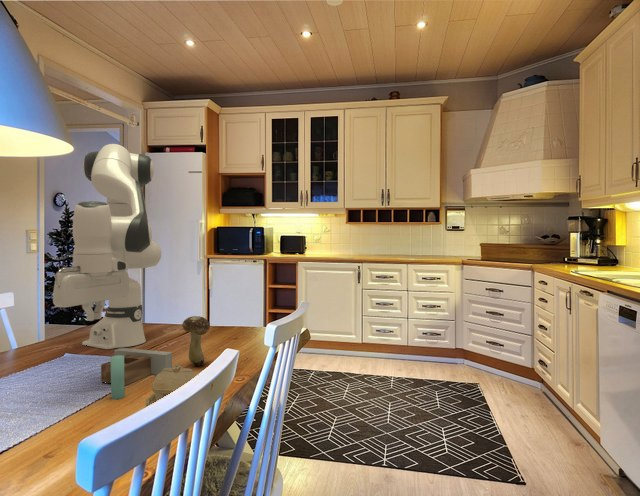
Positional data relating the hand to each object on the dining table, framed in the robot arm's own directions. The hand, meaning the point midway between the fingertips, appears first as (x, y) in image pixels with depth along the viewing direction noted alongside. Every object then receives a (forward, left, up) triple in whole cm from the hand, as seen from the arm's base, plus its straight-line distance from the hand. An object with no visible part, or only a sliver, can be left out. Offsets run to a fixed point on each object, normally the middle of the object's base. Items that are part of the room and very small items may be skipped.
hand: (94, 319), depth 105 cm
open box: (0, +11, -19) cm, 22 cm away
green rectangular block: (+8, -1, -19) cm, 20 cm away
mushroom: (+12, +27, -19) cm, 35 cm away
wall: (0, +18, -19) cm, 25 cm away
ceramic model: (+26, -3, -19) cm, 32 cm away
